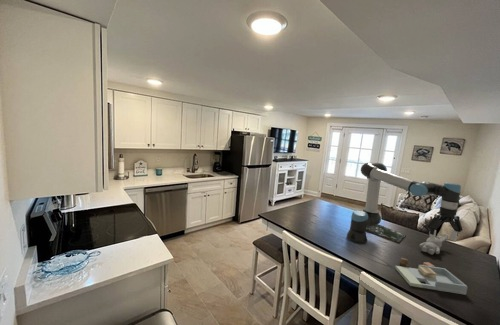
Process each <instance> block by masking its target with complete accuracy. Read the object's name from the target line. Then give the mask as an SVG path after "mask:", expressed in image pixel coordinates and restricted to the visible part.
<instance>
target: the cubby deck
mask: <svg viewBox="0 0 500 325" xmlns="http://www.w3.org/2000/svg"><path fill="white" fill-rule="evenodd" d="M417 266H418V267H417V268H413V267H408V266H407V267H401V266H400V265H395V267H394V268H395V270H396V271H397V272H398V273H399V275H400V276H401V277H402V278H403V279H404V281H405V282H406V283H407V284H408V285H409V286H410V287H415V288H421V289H428V290H434V291H439V292H447V293H452V294H458V295H459V294H460V295H464V296H466V295H467V292H468V287H469V286H467V284H465V283H464V282H463V281H462V280H461V279H459V278H458V277H457V276H456V275H455V274H453V273H452V272H450V271H449V270H448V269H446V268H445V267H438V266H434V267H432V266H425V265H423V264H417ZM419 266H421V267H428V268H430V269H431V270H433V271H434V272H435V273H436V279H435V278H428V277H424V276H423V275H422V274H421V273H420V272H419V271H418V268H419Z"/></svg>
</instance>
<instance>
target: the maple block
mask: <svg viewBox="0 0 500 325" xmlns="http://www.w3.org/2000/svg"><path fill="white" fill-rule="evenodd" d="M417 269H418V271H419V272H420V273H421V274H422V275H423V276H424V277H428V278H435V279H436V273H435V272H434V271H433V270H431V269H430V268H428V267H421V266H419V268H418V267H417Z"/></svg>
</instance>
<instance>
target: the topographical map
mask: <svg viewBox="0 0 500 325" xmlns="http://www.w3.org/2000/svg"><path fill="white" fill-rule="evenodd" d="M366 233H369V234H373V236H374V235H375V236H376V237H380V238H383V239H386V240H388V241H391V242H394V243H397V244H400V243H402V241H403V240H404V239H405V238H406V237H407V234H404V233H402V232H399V231H396V230H393V229H392V228H388V227H385V226H384V225H381V224H378V225H376V226H370V227H367V228H366Z"/></svg>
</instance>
